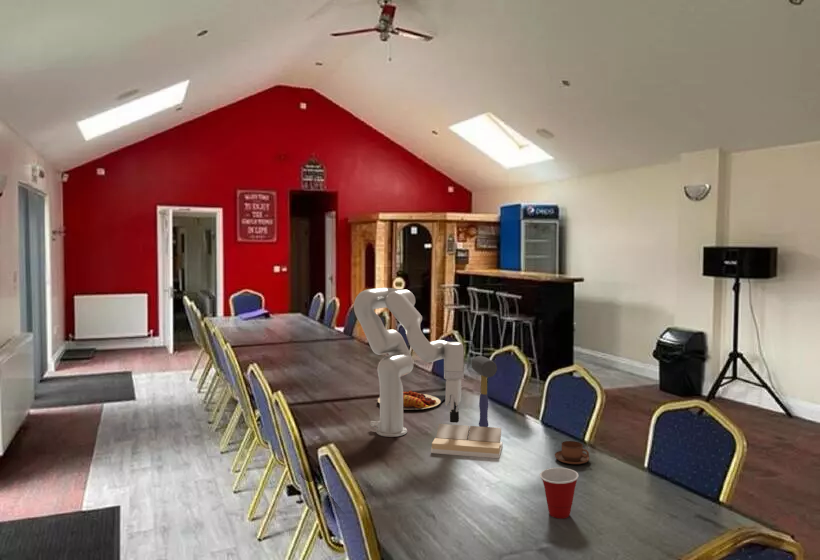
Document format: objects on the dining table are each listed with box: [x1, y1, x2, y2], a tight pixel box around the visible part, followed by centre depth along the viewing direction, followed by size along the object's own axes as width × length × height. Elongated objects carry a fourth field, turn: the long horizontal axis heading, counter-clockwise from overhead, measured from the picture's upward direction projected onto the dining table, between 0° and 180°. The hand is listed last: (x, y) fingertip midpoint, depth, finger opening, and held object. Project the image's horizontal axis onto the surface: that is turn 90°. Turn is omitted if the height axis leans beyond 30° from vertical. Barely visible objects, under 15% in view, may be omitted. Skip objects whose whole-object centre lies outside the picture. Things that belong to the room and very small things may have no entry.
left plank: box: [435, 423, 470, 440], centre depth 238 cm, size 12×7×2 cm
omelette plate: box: [377, 390, 446, 411], centre depth 301 cm, size 31×35×7 cm
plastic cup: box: [539, 467, 579, 519], centre depth 178 cm, size 11×11×12 cm
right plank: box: [468, 425, 502, 443], centre depth 235 cm, size 12×7×2 cm
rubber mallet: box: [470, 355, 498, 427], centre depth 259 cm, size 12×8×30 cm, turn 16°
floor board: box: [430, 437, 503, 459], centre depth 234 cm, size 25×14×4 cm, turn 77°
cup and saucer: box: [554, 440, 590, 465], centre depth 221 cm, size 12×12×6 cm
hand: (454, 421), depth 239 cm, fingers closed
